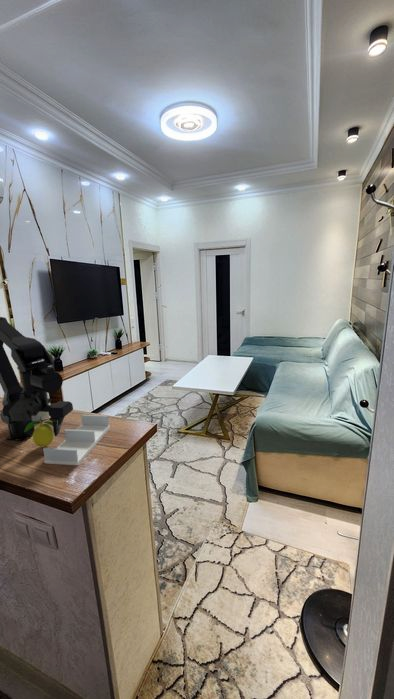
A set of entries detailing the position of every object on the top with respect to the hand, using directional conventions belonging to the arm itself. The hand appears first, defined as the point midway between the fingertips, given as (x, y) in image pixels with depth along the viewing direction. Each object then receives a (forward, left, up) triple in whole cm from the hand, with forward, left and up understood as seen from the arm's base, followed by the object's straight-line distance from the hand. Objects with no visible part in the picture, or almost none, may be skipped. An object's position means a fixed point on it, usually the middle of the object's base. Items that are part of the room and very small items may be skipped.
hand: (42, 434), depth 87 cm
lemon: (0, 0, -4) cm, 4 cm away
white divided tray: (+10, +3, -4) cm, 11 cm away
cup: (-15, +19, -4) cm, 24 cm away
